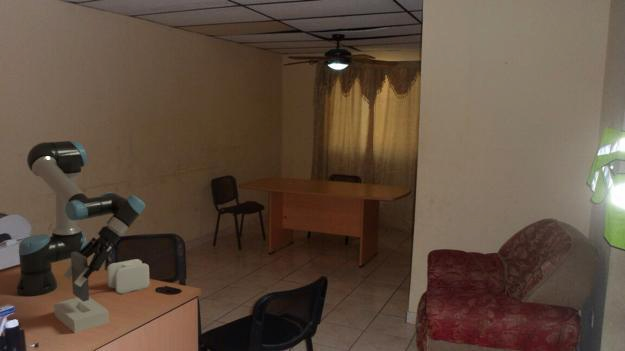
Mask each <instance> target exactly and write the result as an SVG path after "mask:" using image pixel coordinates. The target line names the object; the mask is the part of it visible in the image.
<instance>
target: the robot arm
mask: <svg viewBox="0 0 625 351" xmlns="http://www.w3.org/2000/svg"><path fill="white" fill-rule="evenodd" d="M87 155H88V154H87V152H86V149H85V147H84V146H83V144H82V143H81V142H79V141H71V140H65V141H63V140H62V141H49V142H47V141H45V142H39V143H38V144H36V145H33V147H32V148H31V149H30V150H29V151H28V153H27V157H26V162H27V163H26V164H27V166H28V169H29V170H30V171H31V172H32V173H33V174H34V175H35V176H36V177H40V178H41V179H42V180H43V182H44V183H45V184H46V185H47V186H48V187H49V188H50V189H51V190H52V191H53V193H55V227H54V228H53V229H52V231H51V232H52V233H51V236H50V235H49V234H45V233H42V234H35V235H31V236H27V237H26V238H23V239H22V240H21V241H19V244H18V256H19V268H20V269H19V270H20V276H19V279H18V282H17V285H16V293H17V294H18V295H19V296H24V297H33V296H41V295H44V294H47V293H51V292H53V291H54V290H56V289H57V288H58V282H57V279H56V277H55V275H54V272H53V270H52V264H53V263H58V262H61V261H64V260H65V261H66V260H69V259H70V260H71V252H76V251H77V252H78V253H80V254H82V255H83V256H85V257H87V259H88V258H89V257H91V256H92V255H93V257H92V258H91V261H90V263H89V265H88V266H87V267H86V269H85V270H84V271H83V272H82V273H81V274H80V276H79V277H78V278H77V279H76V280H75V282H74V283H75V284H76V285H78V286H80V287H81V286H82V284H83V283H84V282H85V281H86V280H87V278H88V279H89V277H90V276H91V275H92V274H93V273H94V272H99V271H100V269H101V268H102V266H103V265H104V263H105V261H106V260H107V258H108V256H109V255H110V254H111V252H112V251H113V249H114V248H113V247H112V246H111V245H116V244H117V242H119V240H120V239H121V237H122V236H124V233H126V232H127V230H128V229H129V228H130V227H131V225H132V224H133V223H134V222H135V221H136V220H137V218H138V217H139V216H140V215H141V214H142V212H143V211H144V210H145V208H146V204H145V202H144V201H143V200H142V199H140V197H138V196H136V195H129V196H128V197H127V198H125V197H124V196H121V195H119V194H118V193H114V192H112V191H107V192H104V193H103V194H101V195H100V196H97V197H88V196H87V195H86V194H85V193H84V192H83V191H82V190H81V189H80V188H79V186H78V176H79V175H80V174H81V173H82V168H84V167H85V166H86V165H87V163H88V156H87ZM108 215H112V216H111V217H110V218H109V220H108V221H106V223H105V226H103V227H102V228H100V230H99V231H98V233H97V234H98V236H99V237H98V238H95V237H92V238H91V239H90V241H89V242H87V238H86V234H85V233H84V232H83V231H82V229H81V227H79V226H78V221H83V220H87V219H92V218H96V217H102V216H108ZM62 275H63V276H64V277H65V278H67V279H68V280H69V279H71V278H72V266H71V264H70V265H69V267H68V268H67V269H66V270H65V271H64V272H63V273H62Z"/></svg>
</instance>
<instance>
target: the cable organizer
mask: <svg viewBox="0 0 625 351" xmlns="http://www.w3.org/2000/svg"><path fill="white" fill-rule="evenodd" d="M149 266H150V265H149V264H147V263H145V262H144V263H143V262H142V260H141V259H138V258H135V259H129V260H124V261H119V262H113V263H110V264H108V265H107V267H106V274H107V286H108V288H110V289H115V292H117V293H118V294H122V295H125V294H129V293H131V292H134V291H137V290H138V291H141V290H142V289H143V290H146V288H148V287H149V286H150V267H149ZM143 290H142V291H143Z"/></svg>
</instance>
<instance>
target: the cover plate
mask: <svg viewBox="0 0 625 351" xmlns="http://www.w3.org/2000/svg"><path fill="white" fill-rule="evenodd" d="M70 260H71V262H70V263H71V264H70V265H71V266H72V276H71V283H72V294H73V295H74V296H76V298H79V299H81V300H82V301H83V302H84V301H87V300H89V297H90V290H89V277H88V278H87V280H86V281H85V282H84V283H83V284H82V286H81V287H80V286H78V285H76V284H75V283H74V282H75V280H76V279H77V278H78V277H79V276H80V274H81V273H82V272H83V271H84V270H85V269H86V267H87V266H89V265H88V258H87V257H85V256H83V255H82V254H80V253H78V252H77V251H76V252H71V258H70Z"/></svg>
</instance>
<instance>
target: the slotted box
mask: <svg viewBox="0 0 625 351" xmlns="http://www.w3.org/2000/svg"><path fill="white" fill-rule="evenodd" d="M53 310H54V316H55V317H56V318H57V319H58V320H59V321H60V322H61V323H63V324H64V325H65V326H66V327H67V328H68V329H70V330H71V331H72V332H73V333H74V334H76V333H80V332H84V331H87V330H89V329H92V328H95V327H99V326H103V325H105V324H108V323H110V312H109V310H108V309H107V308H106V307H104V306H103V305H101V303H98V301H95V300H94V299H93V298H91V297H90V296H89V300H87V301H84V302H83V301H82V300H81V299H79V298H78V297H74V298H72V299H71V298H70V299H67V300H63V301H60V302H57V303H53Z"/></svg>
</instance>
